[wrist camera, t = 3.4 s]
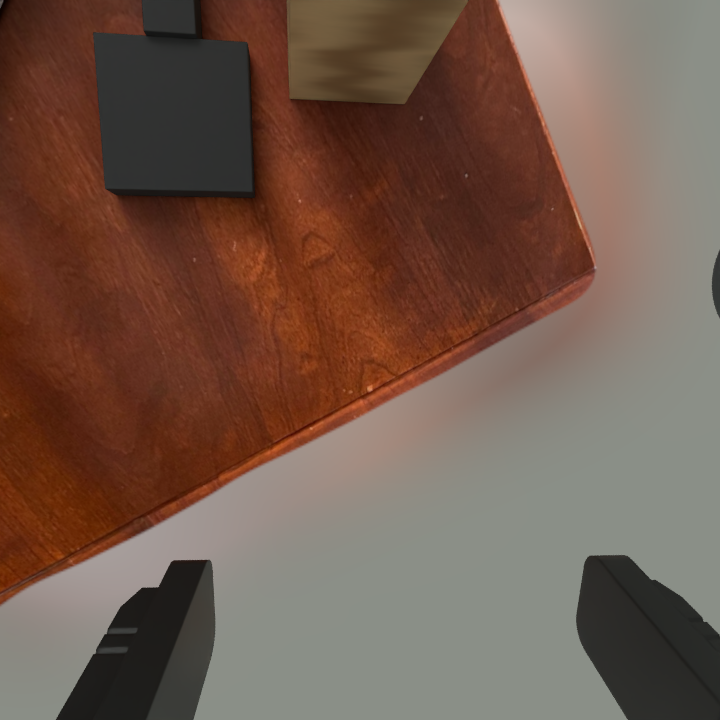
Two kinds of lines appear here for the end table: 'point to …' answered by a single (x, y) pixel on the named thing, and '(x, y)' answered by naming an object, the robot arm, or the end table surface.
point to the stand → (364, 47)
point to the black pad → (175, 108)
